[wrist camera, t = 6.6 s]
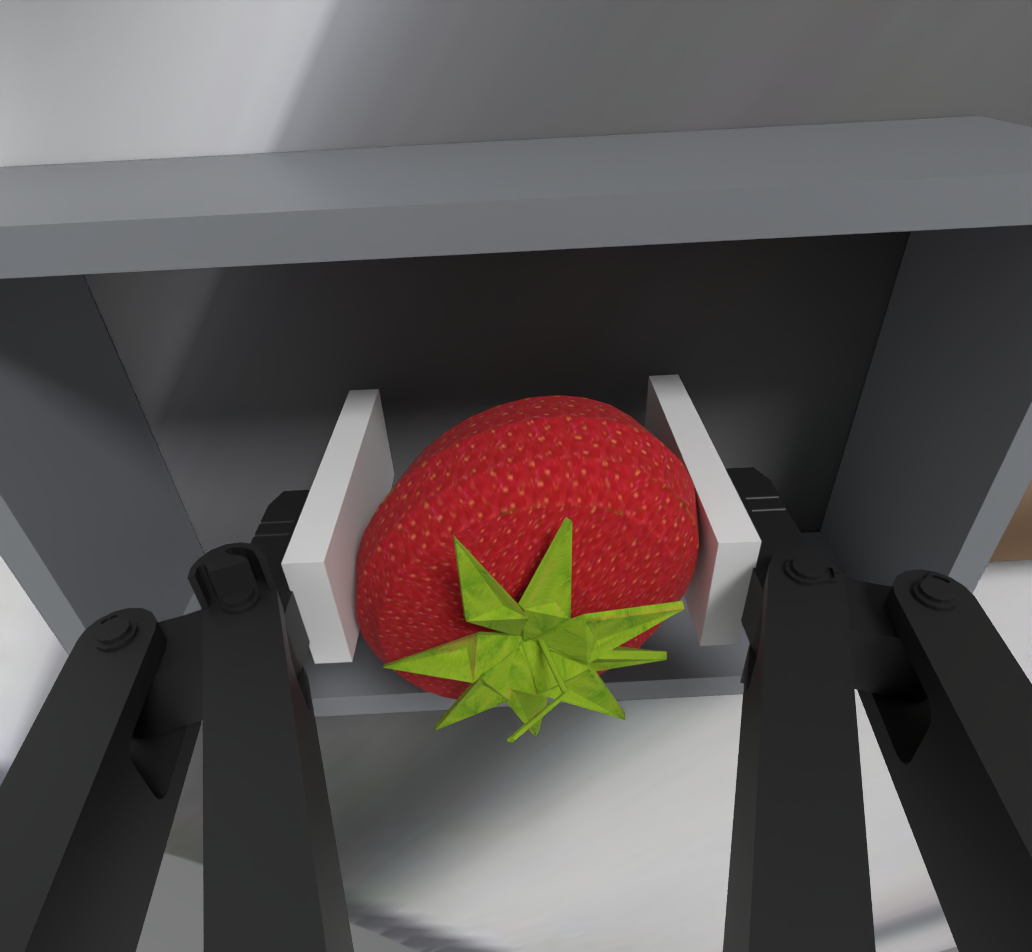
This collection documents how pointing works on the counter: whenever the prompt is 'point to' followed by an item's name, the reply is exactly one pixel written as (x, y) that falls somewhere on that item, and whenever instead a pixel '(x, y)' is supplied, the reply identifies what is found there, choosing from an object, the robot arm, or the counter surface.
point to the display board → (1017, 533)
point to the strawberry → (528, 558)
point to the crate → (512, 228)
